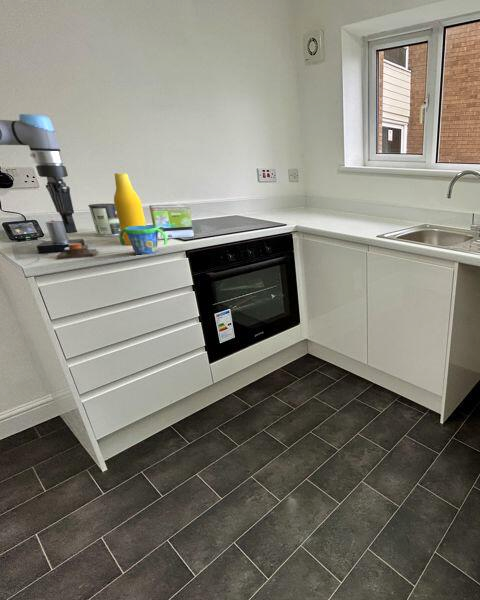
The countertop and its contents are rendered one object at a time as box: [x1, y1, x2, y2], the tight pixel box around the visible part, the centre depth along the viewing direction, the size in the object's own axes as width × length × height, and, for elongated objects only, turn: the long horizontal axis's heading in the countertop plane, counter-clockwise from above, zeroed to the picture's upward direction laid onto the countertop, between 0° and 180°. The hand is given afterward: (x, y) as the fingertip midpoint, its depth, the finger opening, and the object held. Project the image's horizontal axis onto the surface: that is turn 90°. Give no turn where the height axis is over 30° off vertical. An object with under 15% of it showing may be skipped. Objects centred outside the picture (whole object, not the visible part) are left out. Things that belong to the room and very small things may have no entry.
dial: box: [45, 219, 70, 243], centre depth 137 cm, size 5×5×8 cm
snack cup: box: [118, 224, 168, 256], centre depth 137 cm, size 16×10×10 cm
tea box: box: [148, 204, 194, 241], centre depth 166 cm, size 15×10×15 cm, turn 129°
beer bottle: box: [113, 172, 147, 246], centre depth 149 cm, size 9×9×29 cm
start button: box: [69, 243, 82, 249], centre depth 131 cm, size 4×4×2 cm
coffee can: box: [88, 203, 121, 237], centre depth 166 cm, size 10×10×14 cm
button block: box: [56, 245, 98, 260], centre depth 132 cm, size 10×8×3 cm
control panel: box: [36, 238, 86, 255], centre depth 139 cm, size 12×10×3 cm
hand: (72, 232), depth 130 cm, fingers closed
